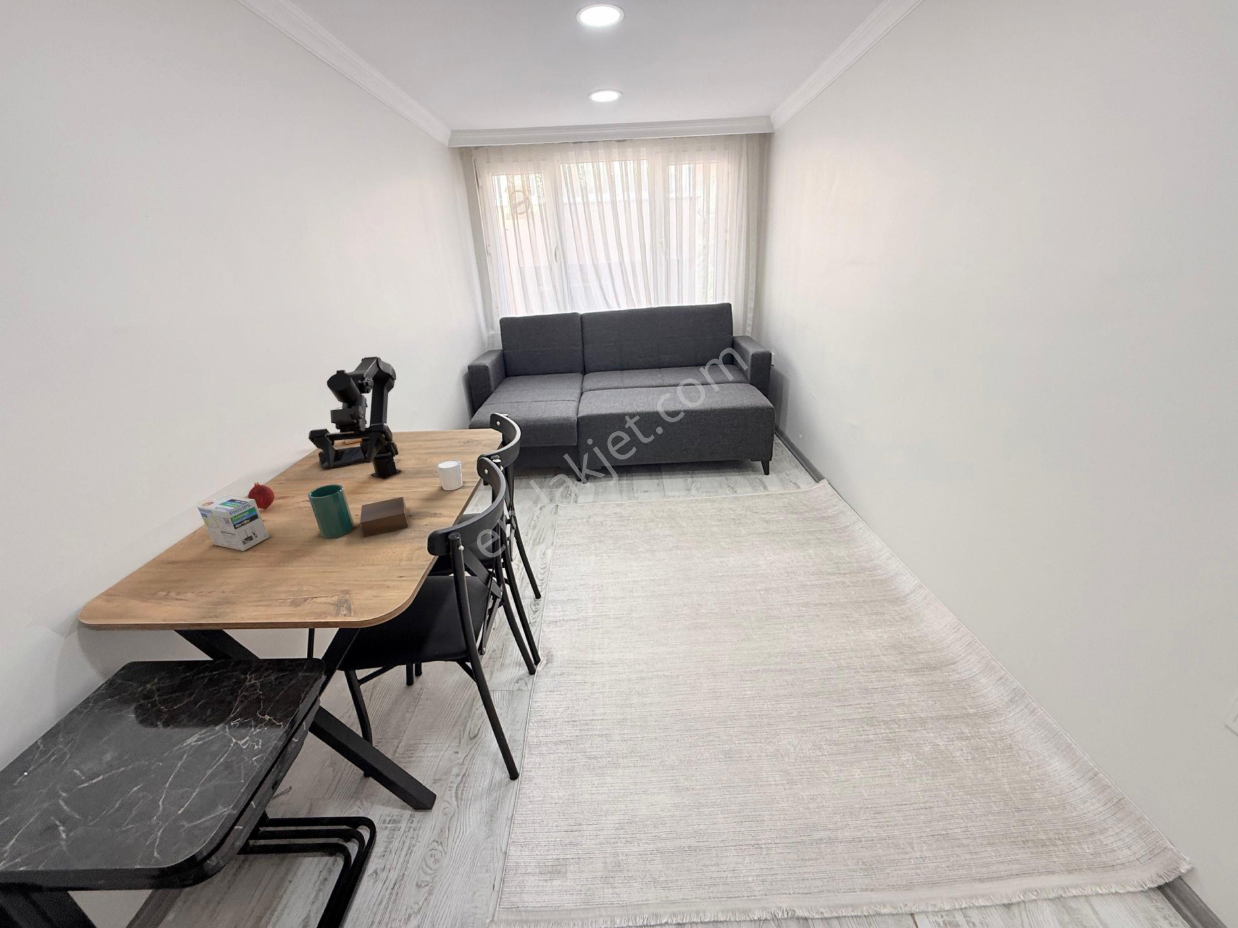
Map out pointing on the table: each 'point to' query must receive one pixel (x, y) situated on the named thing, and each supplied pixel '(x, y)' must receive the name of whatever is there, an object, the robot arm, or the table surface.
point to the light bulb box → (233, 522)
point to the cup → (331, 510)
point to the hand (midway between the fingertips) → (349, 464)
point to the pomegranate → (261, 495)
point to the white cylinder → (450, 474)
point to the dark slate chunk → (343, 457)
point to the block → (383, 516)
